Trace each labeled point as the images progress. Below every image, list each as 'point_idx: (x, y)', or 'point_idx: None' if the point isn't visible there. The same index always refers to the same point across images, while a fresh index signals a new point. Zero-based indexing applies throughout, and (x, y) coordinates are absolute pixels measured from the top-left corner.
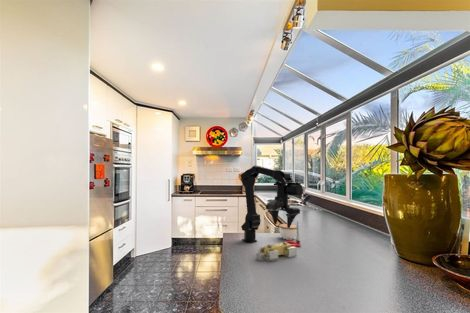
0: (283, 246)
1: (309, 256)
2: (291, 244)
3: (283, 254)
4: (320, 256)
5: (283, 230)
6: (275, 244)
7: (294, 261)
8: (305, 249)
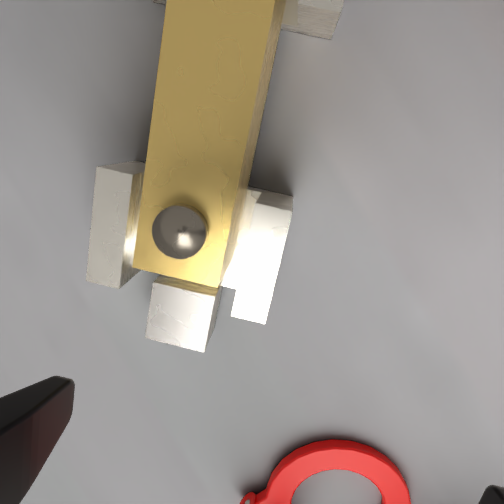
0: (152, 144)
1: (55, 325)
2: (305, 476)
3: None
4: (10, 386)
5: None
6: (240, 95)
7: (46, 106)
8: (175, 461)
